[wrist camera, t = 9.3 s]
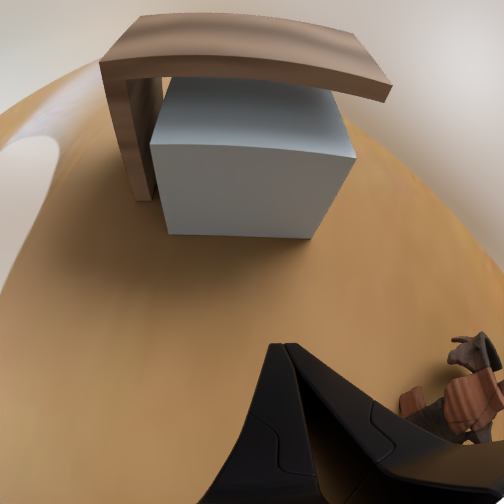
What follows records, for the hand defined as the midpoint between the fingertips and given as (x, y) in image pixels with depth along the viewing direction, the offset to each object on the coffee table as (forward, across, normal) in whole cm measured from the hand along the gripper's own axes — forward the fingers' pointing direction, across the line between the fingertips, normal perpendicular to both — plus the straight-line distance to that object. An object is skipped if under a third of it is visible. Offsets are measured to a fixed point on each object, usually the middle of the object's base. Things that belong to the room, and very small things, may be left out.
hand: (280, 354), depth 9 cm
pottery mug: (+6, -18, +12) cm, 22 cm away
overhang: (+21, 0, -4) cm, 22 cm away
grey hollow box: (+22, 0, -4) cm, 22 cm away
